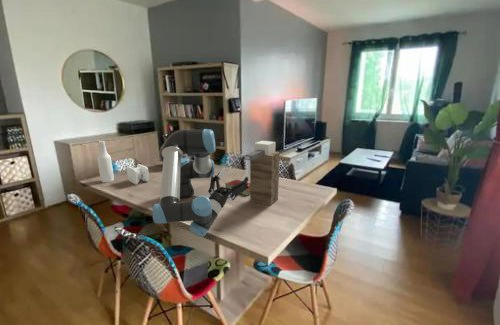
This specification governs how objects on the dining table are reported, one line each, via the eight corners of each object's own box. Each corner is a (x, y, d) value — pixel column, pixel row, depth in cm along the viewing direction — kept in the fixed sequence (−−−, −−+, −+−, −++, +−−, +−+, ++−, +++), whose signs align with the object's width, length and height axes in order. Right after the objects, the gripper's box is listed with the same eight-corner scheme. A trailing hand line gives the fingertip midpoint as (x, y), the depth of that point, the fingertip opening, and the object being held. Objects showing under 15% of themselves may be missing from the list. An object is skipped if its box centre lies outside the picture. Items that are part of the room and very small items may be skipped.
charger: (254, 161, 135) (254, 150, 133) (239, 159, 139) (239, 148, 138) (275, 152, 155) (275, 142, 154) (261, 150, 160) (261, 140, 158)
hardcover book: (236, 184, 191) (236, 178, 190) (259, 191, 177) (259, 185, 176) (224, 188, 182) (224, 183, 181) (247, 196, 169) (247, 190, 168)
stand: (270, 205, 154) (272, 156, 146) (250, 200, 161) (250, 153, 153) (278, 199, 163) (279, 152, 155) (258, 195, 170) (258, 149, 161)
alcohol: (100, 180, 197) (93, 141, 189) (112, 178, 202) (107, 139, 194) (102, 183, 191) (95, 142, 183) (115, 181, 196) (109, 141, 188)
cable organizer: (127, 180, 196) (125, 166, 193) (141, 177, 204) (139, 163, 201) (136, 185, 187) (134, 170, 183) (150, 182, 194) (148, 166, 191)
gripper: (196, 203, 126) (218, 172, 138) (241, 215, 114) (260, 180, 126) (190, 193, 121) (214, 162, 134) (236, 204, 109) (257, 168, 122)
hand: (236, 170), depth 130 cm, fingers open, 13 cm apart
